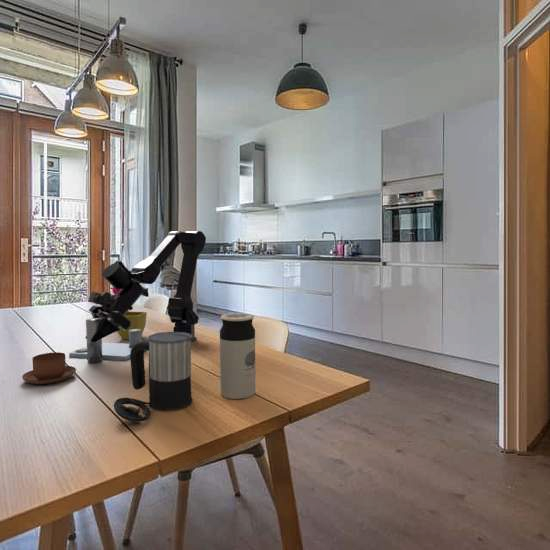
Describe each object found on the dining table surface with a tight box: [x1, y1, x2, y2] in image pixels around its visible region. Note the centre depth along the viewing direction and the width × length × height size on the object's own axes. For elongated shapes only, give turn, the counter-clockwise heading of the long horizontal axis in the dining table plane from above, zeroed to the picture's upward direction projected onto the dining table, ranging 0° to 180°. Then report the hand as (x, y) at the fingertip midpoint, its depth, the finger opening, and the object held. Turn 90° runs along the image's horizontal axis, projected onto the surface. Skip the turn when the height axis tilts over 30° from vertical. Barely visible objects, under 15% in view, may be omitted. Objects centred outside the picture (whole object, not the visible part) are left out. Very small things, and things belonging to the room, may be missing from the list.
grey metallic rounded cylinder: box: [85, 317, 104, 365], centre depth 119 cm, size 4×4×12 cm
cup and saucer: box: [21, 351, 77, 385], centre depth 104 cm, size 12×12×6 cm
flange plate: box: [68, 329, 147, 361], centre depth 129 cm, size 19×14×6 cm
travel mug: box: [219, 312, 257, 400], centre depth 93 cm, size 8×8×18 cm
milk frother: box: [113, 331, 194, 423], centre depth 84 cm, size 14×16×15 cm
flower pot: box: [116, 311, 148, 340], centre depth 150 cm, size 9×9×9 cm
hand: (89, 340), depth 118 cm, fingers closed on grey metallic rounded cylinder, 4 cm apart
